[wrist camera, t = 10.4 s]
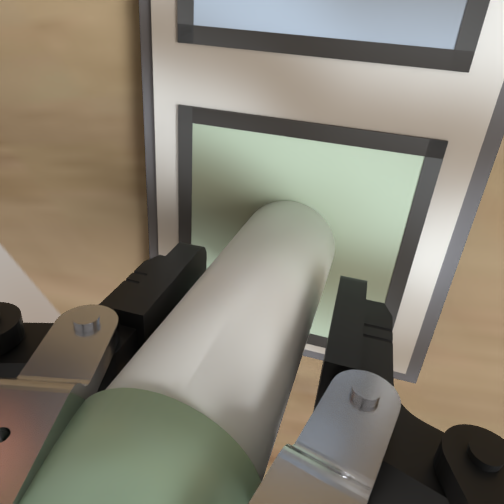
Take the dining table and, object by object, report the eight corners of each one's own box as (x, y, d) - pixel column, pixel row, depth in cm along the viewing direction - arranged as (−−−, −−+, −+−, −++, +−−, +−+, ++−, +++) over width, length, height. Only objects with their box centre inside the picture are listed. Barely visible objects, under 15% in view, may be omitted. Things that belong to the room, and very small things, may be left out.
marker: (243, 187, 14) (-55, 471, 5) (348, 207, 14) (222, 589, 4) (237, 276, 16) (3, 614, 7) (330, 298, 15) (211, 717, 6)
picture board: (138, -410, 10) (111, -457, 9) (709, -484, 8) (755, -558, 7) (160, 307, 19) (148, 322, 18) (414, 369, 17) (416, 389, 16)
